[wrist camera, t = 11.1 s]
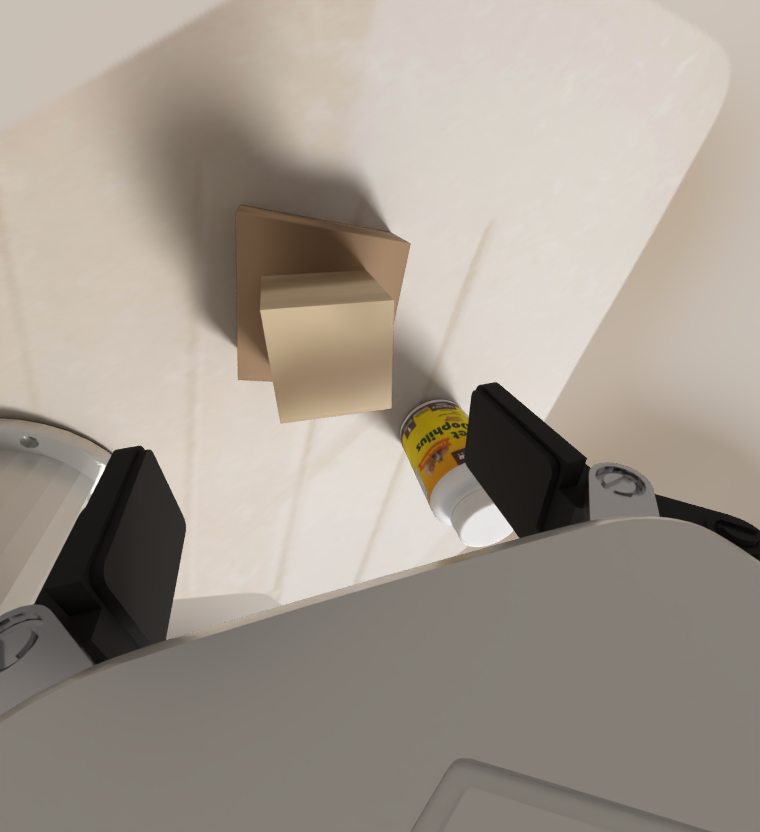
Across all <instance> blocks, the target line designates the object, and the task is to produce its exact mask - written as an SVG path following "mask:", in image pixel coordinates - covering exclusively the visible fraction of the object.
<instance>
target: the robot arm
mask: <svg viewBox="0 0 760 832" xmlns="http://www.w3.org/2000/svg"><path fill="white" fill-rule="evenodd" d="M464 460H465V464H466V466H467V467H468V469H469V470H470V472H471V473H472V474H473V476H474V477H475V478H476V480H477V481H478V482H479V484H480V485H481V486H482V488H483V489H484V491H485V492H486V493H487V495H488V496H489V497H490V499H491V500H492V501H493V503H494V504H495V505H496V507H497V508H498V509H499V511H500V512H501V514H502V515H503V516H504V518H505V519H506V520H507V522H508V523H509V524H510V526H511V527H512V528H513V530H514V531H515V533H516V534H517V535H518V537H519V539H515V540H512V541H508V542H505V543H501V544H497V545H494V546H490V547H487V548H483V549H480V550H476V551H472V552H469V553H465V554H462V555H458V556H454V557H451V558H447V559H444V560H440V561H437V562H433V563H429V564H426V565H422V566H419V567H415V568H412V569H408V570H405V571H401V572H398V573H394V574H391V575H387V576H384V577H380V578H377V579H373V580H370V581H366V582H363V583H359V584H356V585H352V586H349V587H345V588H342V589H338V590H335V591H331V592H328V593H324V594H321V595H317V596H314V597H310V598H307V599H303V600H300V601H297V602H293V603H290V604H286V605H283V606H279V607H276V608H273V609H269V610H266V611H262V612H259V613H256V614H252V615H249V616H245V617H242V618H238V619H234V620H231V621H228V622H224V623H221V624H218V625H215V626H211V627H208V628H205V629H201V630H198V631H195V632H192V633H188V634H185V635H182V636H178V637H175V638H172V639H169V640H166V635H167V630H168V624H169V619H170V614H171V608H172V603H173V597H174V592H175V587H176V581H177V576H178V570H179V565H180V560H181V554H182V549H183V543H184V538H185V532H186V524H185V519H184V517H183V515H182V513H181V510H180V508H179V506H178V504H177V502H176V500H175V498H174V496H173V494H172V491H171V489H170V487H169V485H168V483H167V481H166V479H165V477H164V475H163V472H162V470H161V468H160V466H159V464H158V462H157V460H156V458H155V456H154V454H153V452H152V451H151V450H144V448H143V447H142V446H135V447H129V448H123V449H118V450H115V451H114V452H113V453H112V455H111V454H110V453H109V452H107V451H106V450H104V449H102V448H101V447H99V446H98V445H96V444H94V443H93V442H91V441H89V440H87V439H85V438H82V437H80V436H78V435H75V434H73V433H71V432H69V431H65V430H62V429H59V428H55V427H52V426H49V425H46V424H41V423H35V422H30V421H24V420H18V419H2V418H0V832H760V530H758V529H757V528H756V527H754V526H753V525H751V524H749V523H748V522H746V521H744V520H741V519H739V518H736V517H733V516H731V515H728V514H724V513H721V512H717V511H713V510H710V509H706V508H703V507H699V506H696V505H692V504H688V503H685V502H681V501H677V500H674V499H670V498H667V497H663V496H660V495H656V494H654V490H653V487H652V485H651V483H650V482H649V481H648V479H647V478H646V477H645V476H643V475H642V474H641V473H639V472H638V471H636V470H634V469H632V468H630V467H627V466H624V465H621V464H617V463H608V462H607V463H599V464H596V465H594V466H593V467H591V468H590V467H589V466H587V465H586V464H585V462H586V460H587V458H586V457H585V456H584V455H582V454H581V453H580V452H579V451H578V450H577V449H575V448H574V447H573V446H572V445H571V444H569V443H568V442H567V441H566V440H565V439H564V438H562V437H561V436H560V435H559V434H558V433H556V432H555V431H554V430H553V429H552V428H550V427H549V426H548V425H547V424H546V423H545V422H543V421H542V420H541V419H540V418H539V417H538V416H536V415H535V414H534V413H533V412H532V411H530V410H529V409H528V408H527V407H526V406H525V405H523V404H522V403H521V402H520V401H519V400H517V399H516V398H515V397H514V396H513V395H512V394H510V393H509V392H508V391H507V390H506V389H504V388H503V387H502V386H501V385H500V384H498V383H497V382H494V383H488V384H483V385H479V386H478V387H477V388H476V390H475V391H473V392H472V396H471V404H470V412H469V420H468V428H467V436H466V445H465V453H464Z"/></svg>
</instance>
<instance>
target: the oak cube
mask: <svg viewBox="0 0 760 832" xmlns="http://www.w3.org/2000/svg"><path fill="white" fill-rule="evenodd" d="M260 313H261V318H262V324H263V329H264V335H265V340H266V346H267V351H268V357H269V362H270V368H271V373H272V379H273V384H274V390H275V396H276V401H277V407H278V412H279V418H280V423H281V424H282V423H289V422H296V421H304V420H311V419H318V418H326V417H333V416H340V415H348V414H355V413H362V412H370V411H377V410H384V409H391V404H392V364H393V325H394V299H393V298H392V297H391V296H390V295H389V294H388V293H387V292H386V291H385V290H384V289H383V288H382V287H381V286H380V284H379V283H378V282H377V281H376V280H375V279H374V278H373V277H372V276H371V275H370V274H369V273H368V272H367V270H359V271H341V272H323V273H305V274H287V275H270V276H261V299H260Z"/></svg>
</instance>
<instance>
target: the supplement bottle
mask: <svg viewBox="0 0 760 832" xmlns="http://www.w3.org/2000/svg"><path fill="white" fill-rule="evenodd" d="M468 420H469V417H468V416H467V414H466V413H465V412H464V411H463V409H462V408H461V407H460V406H458V405H457V404H456V403H454V402H451V401H448V400H432V401H428V402H425V403H423V404H421V405H419V406H418V407H416V408H415V409H414V410H413V411H411V412H410V413H409V415H408V416H407V417H406V419H405V420H404V422H403V424H402V427H401V431H400V439H401V443H402V446H403V448H404V450H405V453H406V455H407V457H408V459H409V461H410V464H411V466H412V468H413V470H414V472H415V475H416V477H417V479H418V481H419V483H420V486H421V488H422V490H423V492H424V494H425V496H426V499H427V501H428V503H429V505H430V508H431V510H432V512H433V514H434V515H435V517H436V518H437V519H438V520H439V521H440V522H442V523H443V524H445V525H448V526H451V527H453V528H454V529H455V530H456V532H457V534H458V536H459V538H460V539H461V541H462V542H463V543H464V544H466V545H468V546H472V547H483V546H487V545H491V544H494V543H496V542H498V541H500V540H502V539H504V538H505V537H507V536H508V535H509V534H510V533H511V532H512V531H513V528H512V527H511V526H510V524H509V523H508V522H507V520H506V519H505V518H504V516H503V515H502V514H501V512H500V511H499V509H498V508H497V507H496V505H495V504H494V503H493V501H492V500H491V499H490V497H489V496H488V495H487V493H486V492H485V491H484V489H483V488H482V486H481V485H480V484H479V482H478V481H477V480H476V478H475V477H474V476H473V474H472V473H471V472H470V470H469V469H468V467H467V466H466V464H465V460H464V453H465V445H466V436H467V428H468Z"/></svg>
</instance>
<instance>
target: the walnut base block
mask: <svg viewBox="0 0 760 832" xmlns="http://www.w3.org/2000/svg"><path fill="white" fill-rule="evenodd" d="M409 249H410V243H409V242H407V241H405V240H403V239H402V238H400V237H398V236H396V235H395V234H393V233H391V232H386V231H380V230H375V229H370V228H364V227H359V226H353V225H348V224H342V223H337V222H332V221H326V220H321V219H315V218H310V217H304V216H299V215H294V214H288V213H283V212H277V211H272V210H266V209H261V208H256V207H250V206H245V205H240V206H239V208H238V209H237V211H236V281H237V351H238V380H250V381H270V382H273V379H272V373H271V368H270V362H269V357H268V351H267V346H266V340H265V335H264V329H263V324H262V318H261V313H260V299H261V276H270V275H287V274H305V273H323V272H341V271H359V270H367V272H368V273H369V274H370V275H371V276H372V277H373V278H374V279H375V280H376V281H377V282H378V283H379V284H380V286H381V287H382V288H383V289H384V290H385V291H386V292H387V293H388V294H389V295H390V296H391V297H392V298H393V299H394V320H395V315H396V310H397V305H398V301H399V296H400V291H401V287H402V282H403V277H404V272H405V268H406V263H407V258H408V253H409Z"/></svg>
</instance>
